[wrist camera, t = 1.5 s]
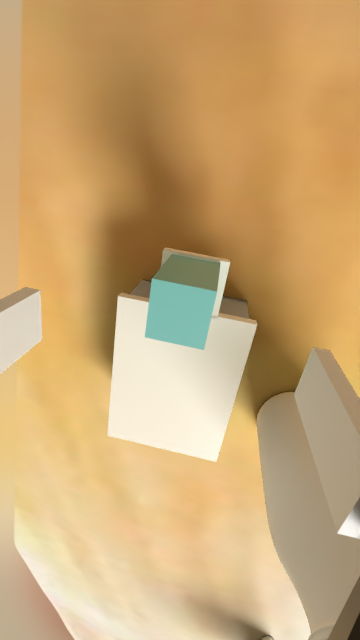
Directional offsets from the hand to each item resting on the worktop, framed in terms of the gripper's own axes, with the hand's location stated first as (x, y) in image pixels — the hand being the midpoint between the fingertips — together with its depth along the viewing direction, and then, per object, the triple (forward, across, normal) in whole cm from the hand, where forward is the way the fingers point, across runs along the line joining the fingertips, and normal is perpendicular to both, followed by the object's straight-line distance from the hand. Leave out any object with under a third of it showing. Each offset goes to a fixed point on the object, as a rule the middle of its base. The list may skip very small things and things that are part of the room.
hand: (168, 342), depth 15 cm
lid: (+9, 0, -7) cm, 12 cm away
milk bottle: (+15, +13, -14) cm, 24 cm away
